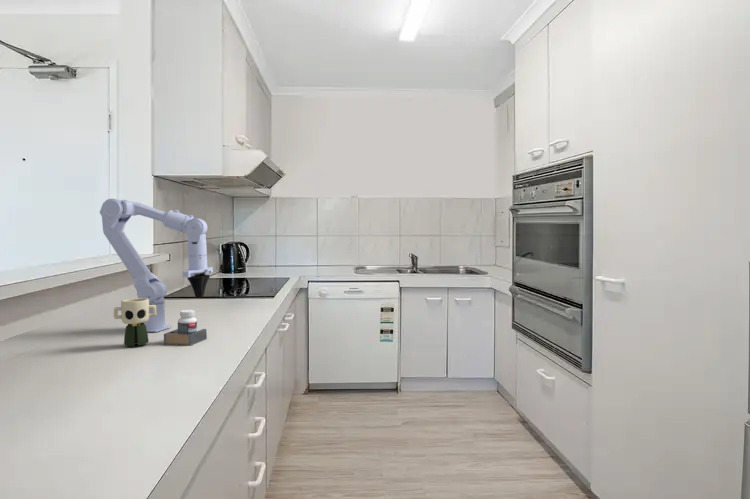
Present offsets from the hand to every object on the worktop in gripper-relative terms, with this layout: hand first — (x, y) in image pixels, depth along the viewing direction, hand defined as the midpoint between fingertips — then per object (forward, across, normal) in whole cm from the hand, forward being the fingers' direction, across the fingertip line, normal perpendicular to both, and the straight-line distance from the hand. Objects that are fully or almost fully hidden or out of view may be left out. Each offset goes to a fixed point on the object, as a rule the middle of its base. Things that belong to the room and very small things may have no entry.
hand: (199, 297), depth 163 cm
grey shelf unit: (+10, -17, -6) cm, 21 cm away
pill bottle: (+11, -17, -6) cm, 21 cm away
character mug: (+10, -24, +6) cm, 27 cm away
